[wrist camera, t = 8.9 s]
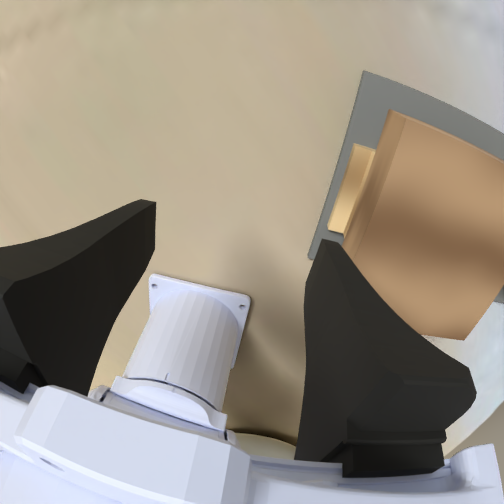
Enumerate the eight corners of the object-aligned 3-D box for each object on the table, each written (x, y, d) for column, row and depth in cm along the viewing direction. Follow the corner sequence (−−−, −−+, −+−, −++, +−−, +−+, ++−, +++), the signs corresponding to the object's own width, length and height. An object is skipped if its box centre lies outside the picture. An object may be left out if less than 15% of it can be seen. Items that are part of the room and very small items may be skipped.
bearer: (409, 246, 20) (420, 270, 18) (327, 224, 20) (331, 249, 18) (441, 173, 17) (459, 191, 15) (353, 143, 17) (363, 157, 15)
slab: (452, 313, 19) (463, 340, 17) (324, 287, 19) (326, 318, 17) (527, 174, 13) (552, 193, 11) (389, 108, 13) (406, 118, 11)
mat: (540, 309, 22) (542, 312, 22) (307, 254, 22) (307, 257, 22) (599, 205, 15) (601, 207, 15) (363, 70, 15) (364, 70, 15)
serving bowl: (256, 472, 50) (252, 504, 44) (155, 432, 44) (144, 469, 38) (348, 445, 39) (349, 487, 34) (233, 396, 34) (223, 451, 28)
